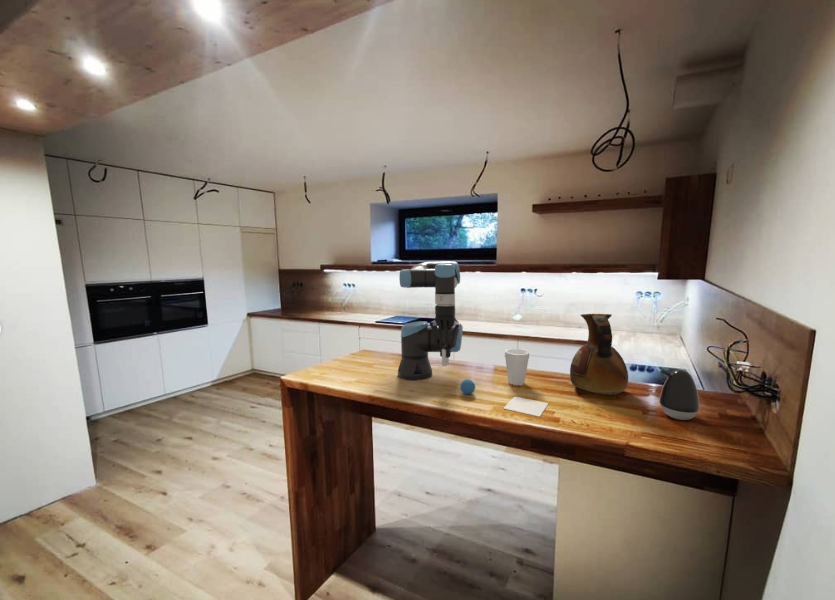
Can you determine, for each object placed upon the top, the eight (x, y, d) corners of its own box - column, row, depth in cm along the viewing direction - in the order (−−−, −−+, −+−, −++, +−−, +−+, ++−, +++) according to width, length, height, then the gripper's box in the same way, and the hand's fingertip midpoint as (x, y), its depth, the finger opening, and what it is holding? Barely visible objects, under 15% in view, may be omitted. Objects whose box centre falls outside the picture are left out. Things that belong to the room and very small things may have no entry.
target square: (503, 408, 120) (503, 408, 120) (514, 396, 130) (514, 396, 130) (539, 417, 113) (539, 416, 113) (548, 403, 123) (548, 403, 123)
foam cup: (531, 386, 139) (532, 354, 138) (507, 387, 140) (508, 355, 138) (524, 378, 149) (525, 348, 147) (502, 378, 149) (502, 348, 148)
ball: (457, 394, 132) (457, 380, 132) (464, 390, 137) (464, 376, 136) (471, 397, 129) (471, 383, 129) (477, 392, 134) (477, 378, 133)
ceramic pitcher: (612, 382, 143) (616, 309, 140) (638, 402, 123) (643, 317, 120) (562, 381, 145) (565, 309, 142) (580, 400, 125) (583, 317, 122)
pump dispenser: (659, 406, 119) (662, 363, 118) (698, 415, 113) (702, 369, 111) (656, 417, 112) (659, 370, 110) (697, 427, 105) (702, 377, 103)
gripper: (425, 304, 135) (425, 365, 137) (455, 306, 128) (456, 370, 130) (435, 302, 141) (435, 360, 144) (464, 304, 134) (464, 365, 137)
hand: (445, 365), depth 137 cm, fingers closed
